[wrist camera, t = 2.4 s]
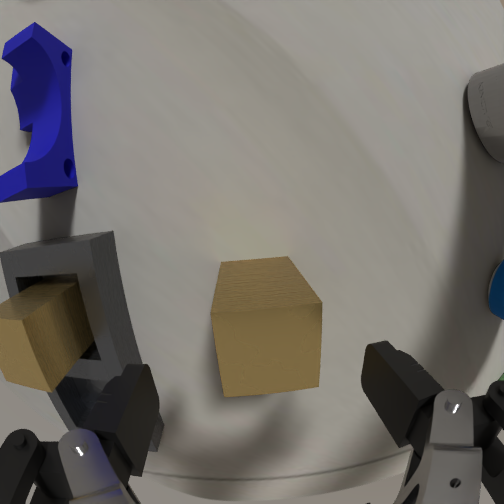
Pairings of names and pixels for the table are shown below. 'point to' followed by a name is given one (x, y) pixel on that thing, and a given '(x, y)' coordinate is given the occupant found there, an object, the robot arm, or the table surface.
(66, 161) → the cable clip
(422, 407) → the robot arm
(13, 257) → the grey flat open box
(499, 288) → the beverage can
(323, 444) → the table surface
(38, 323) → the beige cube
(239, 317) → the wooden toy block
